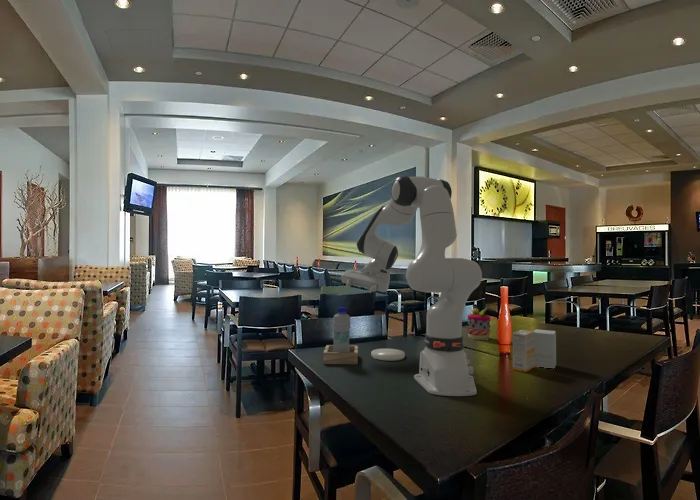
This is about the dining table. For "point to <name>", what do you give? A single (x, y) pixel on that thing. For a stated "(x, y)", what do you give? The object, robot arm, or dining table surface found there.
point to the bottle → (341, 331)
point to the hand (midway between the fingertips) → (358, 288)
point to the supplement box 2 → (545, 348)
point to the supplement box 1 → (523, 350)
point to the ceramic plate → (388, 354)
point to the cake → (478, 325)
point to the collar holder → (340, 355)
